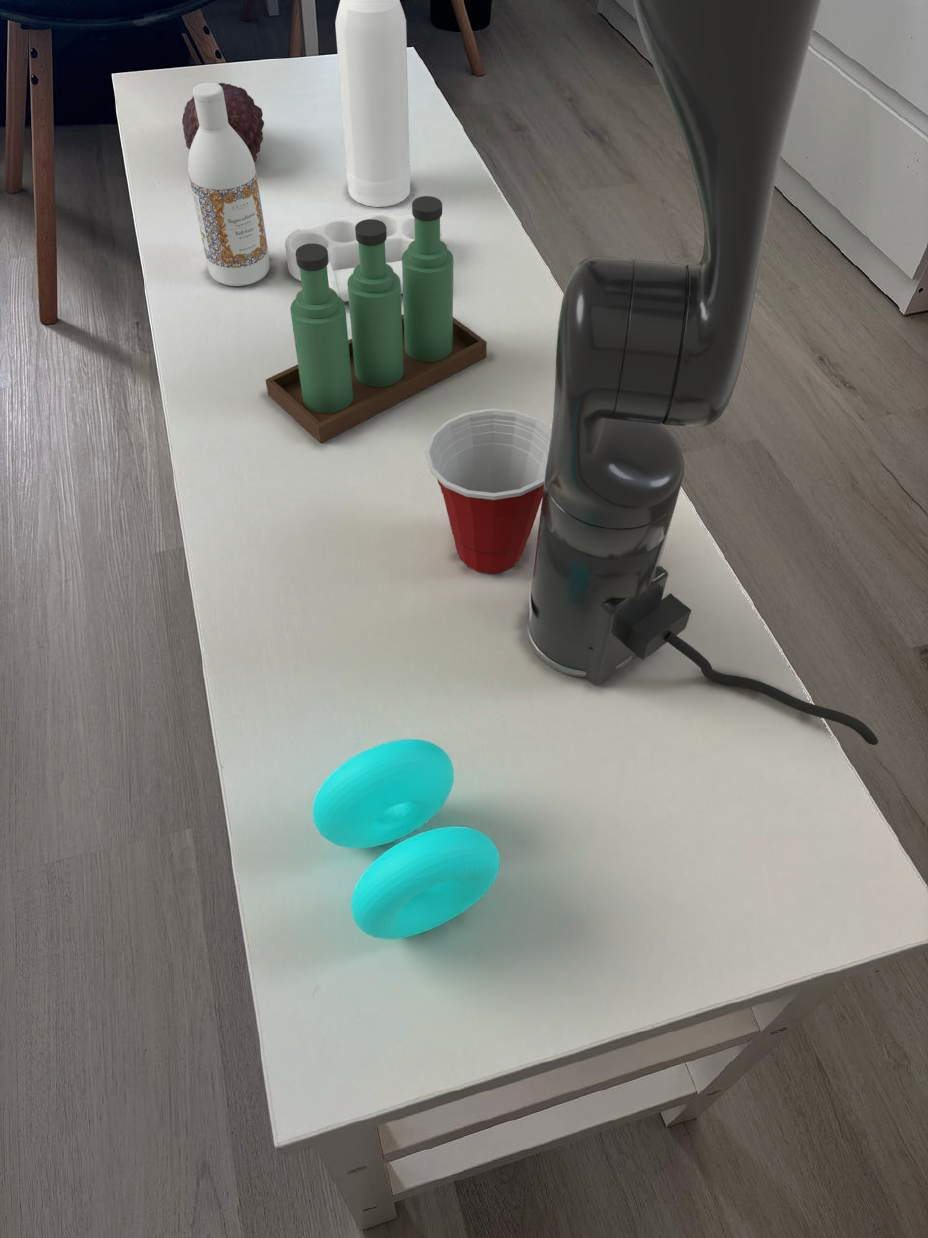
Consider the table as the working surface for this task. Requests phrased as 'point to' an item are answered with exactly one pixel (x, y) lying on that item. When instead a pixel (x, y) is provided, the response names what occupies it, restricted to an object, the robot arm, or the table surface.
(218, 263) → the bath foam
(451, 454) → the plastic cup
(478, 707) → the table surface
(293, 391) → the tray
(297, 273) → the white piece
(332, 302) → the loose bottle
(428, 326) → the tray bottle
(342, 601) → the table surface
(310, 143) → the table surface
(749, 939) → the table surface
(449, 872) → the turquoise yo-yo
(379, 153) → the bottle
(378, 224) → the tray bottle
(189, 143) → the pine cone
